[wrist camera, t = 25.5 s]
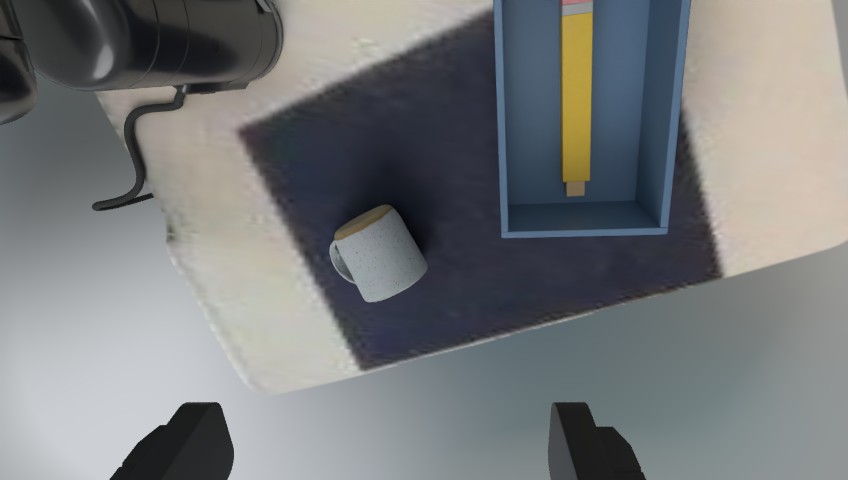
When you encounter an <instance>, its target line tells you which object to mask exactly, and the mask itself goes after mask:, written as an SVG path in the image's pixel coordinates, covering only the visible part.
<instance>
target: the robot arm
mask: <svg viewBox="0 0 848 480" xmlns="http://www.w3.org/2000/svg"><path fill="white" fill-rule="evenodd" d="M281 48H282V27H281V22H280V19H279V16H278V13H277V11H276V9H275V7H274V5H273V3H272V2H271V0H0V125H2V124H6V123H9V122H12V121H15V120H17V119H19V118H21V117H23V116H24V115H26V114H27V113H28V112H29V111H31V110H32V108H33V107H34V106H35V104H36V102H37V99H38V91H37V82H36V77H35V73H34V69H35V70H36V71H37V72H38V73H40V74H41V75H42V76H44V77H45V78H47V79H49V80H51V81H53V82H55V83H57V84H59V85H61V86H64V87H67V88H71V89H76V90H81V91H110V90H121V89H135V88H149V87H162V86H173V87H174V88H176V89H177V93H176V95H175V98H174V102H172V103H167V104H152V105H145V106H141V107H138V108H136V109H134V110H133V111H132V112H131V113H130V114H129V115H128V117H127V118H126V121H125V124H124V136H125V141H126V144H127V147H128V150H129V153H130V155H131V158H132V160H133V163H134V166H135V170H136V176H137V177H136V184H135V186H134V187H133V189H132V190H131V191H130V192H128V193H127V194H125V195H123V196H120V197H117V198H114V199H109V200H105V201H100V202H96V203H94V204H93V205H92V208H93V210H96V211H105V210H110V209H116V208H120V207H124V206H127V205H131V204H134V203H138V202H141V201H144V200H148V199H151V198H154V196H153V194H152V193H149V194H145V195H142V196H139V197H136V196H137V195H138V194H139V192H140V191H141V189H142V187H143V184H144V169H143V165H142V162H141V159H140V157H139V154H138V151H137V149H136V146H135V143H134V139H133V133H132V129H133V124H134V122H135V120H136V119H137V118H138V117H139V116H141V115H143V114H145V113H150V112H161V111H173V110H177V109H179V108H181V107H182V106H183V100H184V97H185V95H190V94H210V93H215V92H220V91H229V90H239V89H245V88H246V87H247V85H248V83H249V82H250V81H254V80H257V79H260V78H262V77H263V76H265V75H266V74H267V73H269V72H270V71H271V69H272V68H273V67H274V66H275V64H276V62H277V60H278V58H279V55H280V52H281ZM134 197H135V198H134ZM233 460H234V448H233V444H232V441H231V438H230V434H229V431H228V427H227V424H226V421H225V417H224V414H223V411H222V408H221V406H220V404H219V403H217V402H192V403H191V402H187V403H184V404H183V405H182V406H180V407H179V409H178V410H177V411H176V413H175V414H174V415H173V417H172V418H171V419H170V421H169V422H168V424H167V425H160V426H158V427H157V428H156V429H155V430H153V431H152V432H151V433H150V434H148V435H147V436H146V437H145V438H143V439H142V440H141V441H140V442H138V444H137V445H136V446H135V447H134V449H133V450H132V451H131V452H130V454H129V455H128V456H127V458H126V459H125V460H124V462H123V465H122V467H119V468H118V469H117V471H116V472H115V473H114V474H113V476H112V477H111V478H110V480H227V479H228V477H229V475H230V472H231V469H232V466H233ZM548 463H549V471H550V477H551V480H646V479H645V476H644V474H643V472H641V467H640V465H639V463H638V461H637V458H636V457H635V454H634V452H633V450H632V447H631V445H630V444H629V443H628V442H627V441H626V440H625V439H624V438H623V437H622V436H621V435H620V434H619V433H618V432H617V431H616V430H615V429H614V428H613V427H596V425H595V422H594V420H593V417H592V415H591V412H590V409H589V407H588V405H587V404H586V403H585V402H575V403H573V402H569V403H566V402H562V403H560V402H559V403H553V404H552V407H551V419H550V431H549V445H548Z"/></svg>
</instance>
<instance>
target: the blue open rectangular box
mask: <svg viewBox="0 0 848 480" xmlns="http://www.w3.org/2000/svg"><path fill="white" fill-rule="evenodd" d="M493 3H494V33H495V62H496V91H497V121H498V150H499V179H500V209H501V237H502V238H529V237H571V236H613V235H656V234H667V232H668V222H669V212H670V202H671V192H672V182H673V172H674V162H675V153H676V143H677V133H678V123H679V113H680V103H681V93H682V83H683V73H684V64H685V54H686V44H687V34H688V24H689V14H690V4H691V0H593V35H592V91H591V147H590V181H585V192H584V196H568V197H567V196H566V193H565V182H563V181H562V179H561V177H560V45H559V19H560V18H559V9H560V8H559V0H493Z"/></svg>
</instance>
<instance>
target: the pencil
mask: <svg viewBox="0 0 848 480" xmlns="http://www.w3.org/2000/svg"><path fill="white" fill-rule="evenodd" d="M559 8H560V9H559V18H560V19H559V45H560V177H561V179H562V181H563V182H565V193H566V196H567V197H568V196H584V192H585V181H590V147H591V91H592V35H593V0H559Z"/></svg>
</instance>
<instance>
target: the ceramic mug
mask: <svg viewBox="0 0 848 480" xmlns="http://www.w3.org/2000/svg"><path fill="white" fill-rule="evenodd" d="M334 238H335V240H334V241H333V242H332V244H331V245H330V256H331V260H332V262H333V264H334V266H335V268H336V270H337V271H338V272H339V274H340V275H341V276H342V277H343V278H344V279H346V280H347V281H349V282H351V283H354V284H356V285H357V287H358V289H359V291H360V292H361V294H362V296H363V298H364V299H365V301H367V302H376V301H381V300H384V299H387V298H389V297H391V296H393V295H395V294H397V293H400V292H401V291H403V290H405V289H407V288H408V287H410V286H411V285H412V284H414V283H415V282H416V281H418V280H419V279H420V278H421V277H422V276H423V275H424V273H425V272H426V271H427V269H428V265H427V262H426V261H425V259H424V257H423V255H422V254H421V252H420V250H419V248H418V247H417V245H416V243H415V241H414V240H413V238H412V236H411V235H410V233H409V231H408V229H407V228H406V226H405V224H404V222H403V220H402V218H401V217H400V215H399V214H398V213H397V211H396V210H395V209H394V208H393V207H392V206H390V205H386V204H385V205H381V206H379V207H376V208H374V209H372V210H370V211H368V212H366V213H364V214H362V215H360V216H358V217H356V218H355V219H353V220H351V221H349V222H348V223H346V224H345V225H343V226H342V227H340V228H339V229H338V230H337V231H336V233H335V235H334Z"/></svg>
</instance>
